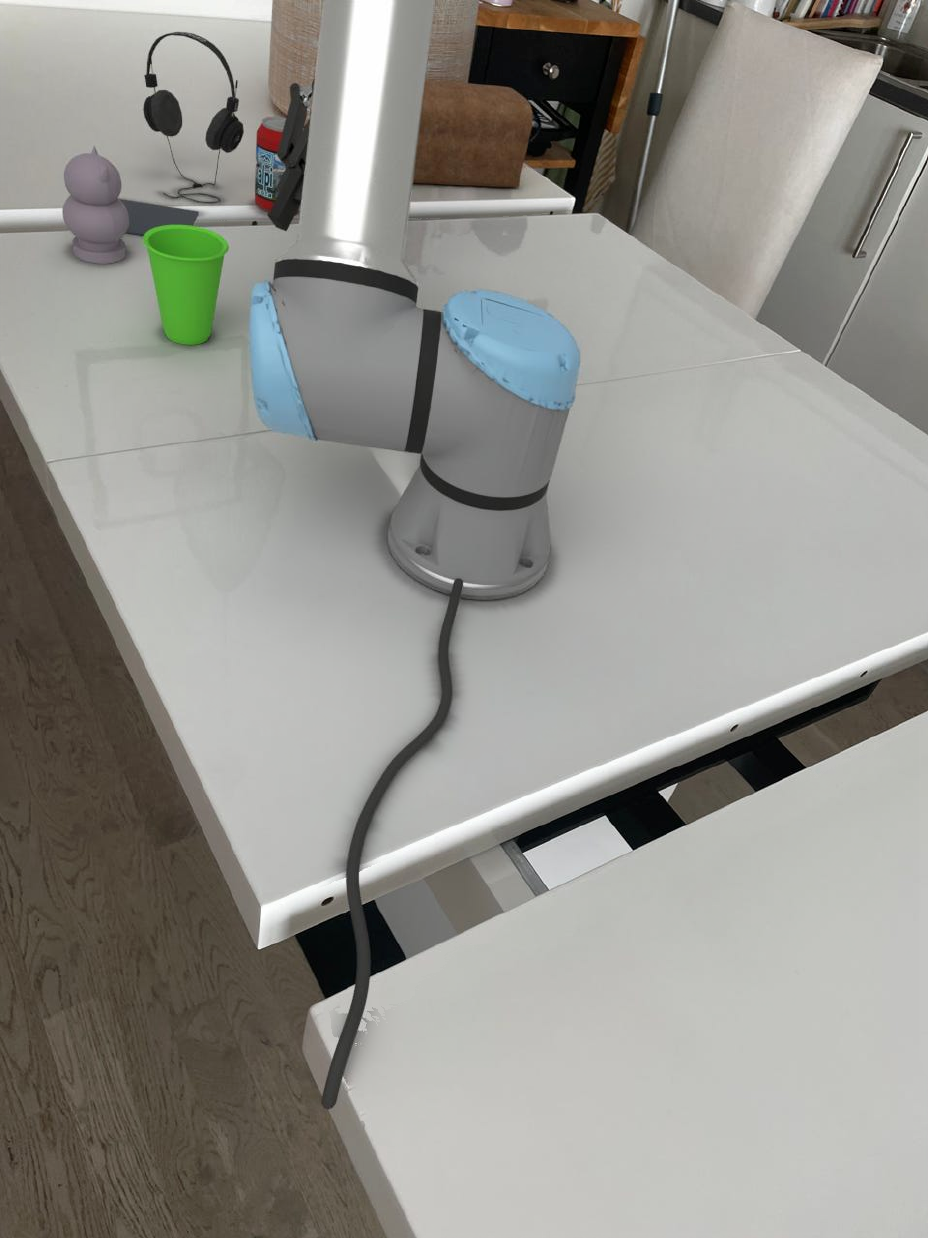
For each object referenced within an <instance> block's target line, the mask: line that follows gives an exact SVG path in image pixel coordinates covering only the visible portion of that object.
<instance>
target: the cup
mask: <svg viewBox="0 0 928 1238" xmlns="http://www.w3.org/2000/svg"><path fill="white" fill-rule="evenodd" d="M141 241H142V244H143V246H145V248H146V249H147V250H146V251H147V255H148V260H149V264H150V270H151V274H152V279H153V284H154V289H155V294H156V299H157V303H158V308H159V313H160V319H161V323H162V329H163V332H164V334H165V336H166V338H168V339H169V340H170V341H171V342H174V343H177V344H180V345H188V346H191V345H192V346H193V345H200V344H203V343H205V342H206V341H208V340H209V338H210V336H211V334H212V330H213V323H214V317H215V312H216V307H217V306H216V305H217V300H218V293H219V288H220V284H221V283H220V282H221V277H222V270H223V266H224V265H223V264H224V259H225V255H226V253H228V251H229V248H230V246H229V243H228V241H227V239H225V238H224V237H223V236H222V235H221V234H219V233H217V232H216V231H213V230H210V229H208V228H204V227H200V226H195V225H193V226H189V225H165V226H159V227H155V228H153V229H151V230H148V231H147V232H146V233H145V234H144V236H143V237H142V240H141Z"/></svg>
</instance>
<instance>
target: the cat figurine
mask: <svg viewBox="0 0 928 1238" xmlns="http://www.w3.org/2000/svg"><path fill="white" fill-rule="evenodd" d="M92 147H93V148H92V149H91V152H90V153H88V152H86V153H80V154H78V155H76V156H74V157H72V158H71V159H70V160H69V161H68V162H67V164H66V165H65V167H64V170H63V180H64V186H65V189H66V190H67V192H68V194H69V195H68V197H67V198H66V199H65V201H64V203H63V205H62V210H61V211H62V220H63V223H64V225H65V226H66V228H67V229H68V230H69V232H71V234H72V235H74V237H73V239H72V241H71V242H72V252H73V255H74V256H75V257H76V258H77V259H79V260H81V261H83V262H86V263H91V264H99V265H101V264H102V265H106V264H107V265H108V264H115V263H118V262H121V261H123V260H125V258H126V257H127V254H126V253H127V251H126V242H125V240H123V239H122V238H123V237H124V235H125V234H127V233H126V231H127V229H128V227H129V215H128V211H127V209H126V207H125V205H124V204H123V203H122V202H121V201H120V200H119V199H120V198H119V196H120V194H121V191H122V186H123V185H122V179H121V176H120V172H119V170H118V169H117V168H116V166H115V165H114V164H113V163H112V162H111V161H110V160H108V159H107V158H105V157H104V156H101V155H100V154H99V153H98V150H97V148H96V146H95V145H93V146H92Z"/></svg>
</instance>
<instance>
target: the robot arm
mask: <svg viewBox="0 0 928 1238" xmlns="http://www.w3.org/2000/svg"><path fill="white" fill-rule="evenodd" d="M435 1H436V0H323V9H322V19H321V28H320V37H319V46H318V55H317V64H316V73H315V79H314V80H313V82H312V84H311V85H308V86H304V87H300V86H299V85H298V84H297V83H293V84H292V85H291V86H290V96H291V102H290V106H289V110H288V113H287V116H286V117H285V118H286V121H285V125H284V128H283V132H282V136H281V139H280V143H279V147H278V151H277V156H278V158H279V159H280V161H281V162H282V164H283V166H284V167H285V168H286V169H285V171H284V173H283V175H282V177H281V179H280V181H279V183H278V185H277V187H276V192H277V194H278V196H277V198H276V200H275V202H274V204H273V206H272V208H271V210H270V212H268V214H267V217H268V218H269V219H270V221H271V222H272V224H273V225H274V226H275V228H276V229H279V230H281V231H284V232H288V230H289V227H290V225H291V223H292V222H293V219H294V218H295V216H296V214H297V212H298V210H299V217H298V218H299V220H298V228H297V237H296V238H297V239H296V241H295V243H294V244H293V245H291V246H290V247H289V248H288V249H286V250H285V251H283V253H281V254H280V255H279V256H277V257H276V258H275V262H274V268H273V269H274V270H273V279H272V283H271V281H270V280H264V281H262V282H257V283H255V284H254V285H253V286H252V289H251V294H250V309H249V319H248V324H249V327H248V330H249V331H248V332H249V333H248V334H249V337H248V338H249V339H248V341H249V363H250V376H251V377H250V378H251V387H252V388H251V389H252V395H253V402H254V407H255V410H256V413H257V417H259V419H260V421H261V422H262V424H263V425H264V426H265V427H266V428H268V430H271V431H273V432H276V433H280V434H285V435H291V436H295V437H301V438H306V439H309V440H310V441H312V442H318V441H323V442H331V443H339V444H344V445H350V446H351V445H353V446H360V447H366V448H374V449H380V450H386V451H387V450H388V451H395V452H403V453H411V454H419V455H420V460H419V465H418V467H417V469H416V470H415V472H414V474H413V476H412V477H411V479H410V480H409V483H408V484H407V485H406V488H405V489H404V491H403V492H402V494H401V497H400V498H399V499H398V501H397V503H396V505H395V506H394V508H393V510H392V512H391V515H390V518H389V524H388V525H389V526H388V532H387V544H388V548H389V551H390V553H391V555H392V557H393V559H394V561H395V562H396V563H397V564H398V565H399V567H400V568H401V569H402V570H403V571H404V572H405V573H406V574H408V575H409V576H410V577H412V578H413V579H414V580H416V581H417V582H418V583H420V584H422V585H424V586H426V587H428V588H429V589H432V590H435V591H436V592H439V593H440V592H441V593H443V594H445V595H449V600H448V604H447V606H446V607H447V608H446V612H445V615H444V618H443V622H442V626H441V629H440V634H439V639H438V646H437V647H438V649H437V658H438V659H437V660H438V667H439V674H440V675H439V676H440V682H441V683H440V684H441V697H440V702H439V705H438V708H437V710H436V712H435V715H434V716H433V718H432V720H431V721H430V722H429V724H428V725H427V726H426V727H425V728H424V729H423V730H422V731H421V732H420V733H419V734H418V735H417V736H415V738H414V739H412V741H410V742H409V743H408V744H406V745H405V746H404V748H402V750H400V752H398V753H397V755H395V757H393V759H392V760H391V761H390V763H389V764H388V765H387V766H386V768H385V769H384V771H383V772H382V773H381V775H380V777H379V779H378V781H377V782H376V784H375V785H374V787H373V789H372V791H371V792H370V794H369V795H368V798H367V799H366V801H365V804H363V807H362V810H361V812H360V814H359V817H358V819H357V821H356V824H355V827H354V830H353V832H352V833H353V834H352V837H351V840H350V845H349V850H348V855H347V860H346V869H345V870H346V871H345V886H346V894H347V895H346V896H347V897H346V898H347V903H348V908H349V914H350V919H351V924H352V929H353V934H354V941H355V947H356V973H355V984H354V989H353V993H352V998H351V1002H350V1005H349V1009H348V1012H347V1016H346V1018H345V1021H344V1024H343V1026H342V1029H341V1033H340V1035H339V1038H338V1040H337V1043H336V1046H335V1050H334V1053H333V1055H332V1057H331V1058H332V1059H331V1062H330V1064H329V1069H328V1072H327V1075H326V1079H325V1083H324V1087H323V1091H322V1095H321V1105H322V1107H323V1109H325V1110H328V1111H329V1110H331V1109H333V1108H334V1107H335V1106H336V1104H337V1102H338V1097H339V1093H340V1089H341V1085H342V1081H343V1077H344V1074H345V1071H346V1070H345V1069H346V1067H347V1063H348V1061H349V1057H350V1055H351V1051H352V1048H353V1046H354V1042H355V1039H356V1036H357V1034H358V1031H359V1028H360V1026H361V1025H360V1024H361V1022H362V1019H363V1016H364V1012H365V1008H366V1004H367V999H368V995H369V990H370V982H371V968H372V960H371V945H370V937H369V932H368V931H369V930H368V926H367V921H366V917H365V911H364V908H363V907H364V906H363V902H362V897H361V890H360V889H361V888H360V868H361V859H362V853H363V848H364V844H365V840H366V836H367V832H368V829H369V827H370V823H371V821H372V819H373V816H374V814H375V812H376V810H377V808H378V806H379V804H380V802H381V801H382V798H383V796H384V795H385V793H386V791H387V789H388V788H389V786H390V784H391V783H392V781H393V779H394V778H395V776H396V775H397V773H398V772H399V771H400V769H402V767H403V766H404V765H405V763H407V762H408V760H409V759H410V758H412V757H413V756H414V755H415V754H416V753H417V752H418V751H419V750H420V749H422V747H424V746H425V745H426V744H427V743H428V742H429V741H430V740H431V739H433V737H434V736H435V735H436V733H438V731H439V730H440V728H441V727H442V725H443V724H444V723H445V721H446V719H447V717H448V714H449V712H450V709H451V705H452V700H453V682H452V681H453V680H452V674H451V669H450V668H451V667H450V661H449V648H450V647H449V646H450V639H451V634H452V630H453V627H454V622H455V620H456V616H457V611H458V609H459V608H458V607H459V604H460V599H468V600H476V601H477V600H479V601H484V600H485V601H490V600H500V599H501V600H502V599H507V598H511V597H514V596H517V595H520V594H522V593H525V592H526V591H528V590H530V589H531V588H533V587H535V585H536V584H538V583H539V581H540V580H542V579H543V576H544V574H545V572H546V570H547V567H548V563H549V559H550V556H551V552H552V538H551V528H550V518H549V508H548V497H547V496H548V495H547V493H548V489H549V485H550V481H551V478H552V475H553V471H554V468H555V464H556V460H557V457H558V453H559V449H560V446H561V442H562V439H563V435H564V432H565V428H566V424H567V421H568V418H569V413H570V409H571V408H572V407H573V405H574V403H575V401H576V388H577V383H578V379H579V373H580V367H581V351H580V348H579V344H578V343H577V340H576V338H575V337H574V335H573V334H572V332H571V331H570V330H569V329H568V328H567V327H566V326H565V325H564V324H563V323H562V322H561V321H560V320H558V319H557V318H556V317H554V316H553V315H552V314H551V313H549V312H548V311H546V310H544V309H542V308H541V307H539V306H537V305H535V304H533V303H532V302H531V303H530V302H528V301H526V300H524V299H522V298H520V297H516V296H513V295H510V294H506V293H502V292H499V291H494V290H487V289H474V290H473V291H469V290H462V291H459V292H456V293H454V294H453V295H452V296H450V297H449V298H448V300H447V302H446V303H445V304H444V306H443V308H442V311H438V310H434V309H426V308H421V307H417V301H418V294H419V288H420V287H419V281H418V280H417V278H416V277H415V276H414V274H413V273H412V271H411V270H410V269H409V268H408V265H406V262H405V250H406V249H405V248H406V240H407V232H408V225H409V216H410V209H411V201H412V194H413V193H412V192H413V186H414V185H413V184H414V183H413V177H414V169H415V161H416V153H417V145H418V137H419V129H420V121H421V113H422V105H423V97H424V89H425V81H426V73H427V65H428V57H429V49H430V41H431V33H432V25H433V17H434V9H435ZM312 98H313V100H312V109H311V112H310V118H309V120H308V122H307V124H306V126H305V127H304V124H305V120H306V116H307V108H309V107H310V106H311V105H310V103H311V99H312ZM299 206H300V208H299ZM298 208H299V209H298Z"/></svg>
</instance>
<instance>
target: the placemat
mask: <svg viewBox="0 0 928 1238" xmlns="http://www.w3.org/2000/svg"><path fill="white" fill-rule="evenodd" d="M118 199H119V200H120V201H121V202H122V203H123V204H124V205H125V207H126V209H127V211H128V215H129V227H128V229H127V231H126V233H125V234H128V235H129V234H130V235H137V236H143V237H144V234H145V233H146V232H147V231H148V230H151V229H153V228H155V227H159V226H165V225H189V226H194V224H195V222H196V220H197V217H198V215H199V213H200V211H199V210H192V209H185V208H178V207H173V206H166V205H161V204H154V203H147V202H143V201H142V202H141V201H134V200H128V199H122V198H118Z"/></svg>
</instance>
